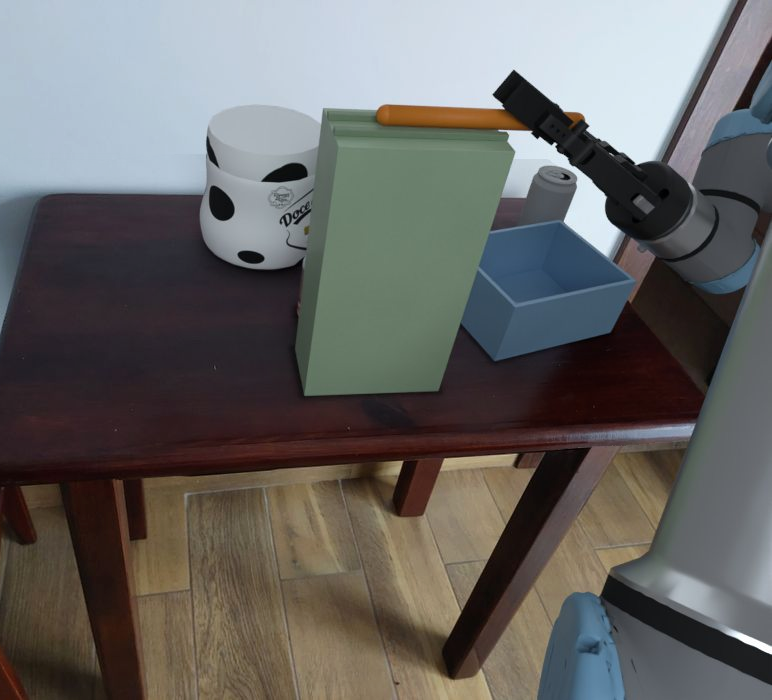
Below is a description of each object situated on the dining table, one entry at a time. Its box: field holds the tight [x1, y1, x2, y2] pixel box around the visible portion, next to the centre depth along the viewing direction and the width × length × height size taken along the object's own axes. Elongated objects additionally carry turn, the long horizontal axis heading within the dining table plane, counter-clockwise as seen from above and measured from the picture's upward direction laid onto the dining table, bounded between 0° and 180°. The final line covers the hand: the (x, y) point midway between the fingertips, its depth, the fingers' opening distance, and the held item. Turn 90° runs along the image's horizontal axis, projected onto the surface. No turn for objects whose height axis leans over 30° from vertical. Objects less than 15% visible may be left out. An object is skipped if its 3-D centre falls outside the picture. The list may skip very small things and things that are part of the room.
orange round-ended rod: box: [376, 103, 586, 132], centre depth 61 cm, size 20×2×2 cm, turn 98°
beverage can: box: [515, 165, 578, 227], centre depth 103 cm, size 6×6×12 cm
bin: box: [460, 220, 638, 362], centre depth 90 cm, size 15×19×9 cm
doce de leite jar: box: [199, 104, 321, 272], centre depth 92 cm, size 17×17×18 cm
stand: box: [294, 107, 516, 397], centre depth 71 cm, size 16×8×31 cm, turn 98°
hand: (509, 89), depth 60 cm, fingers closed on orange round-ended rod, 2 cm apart
